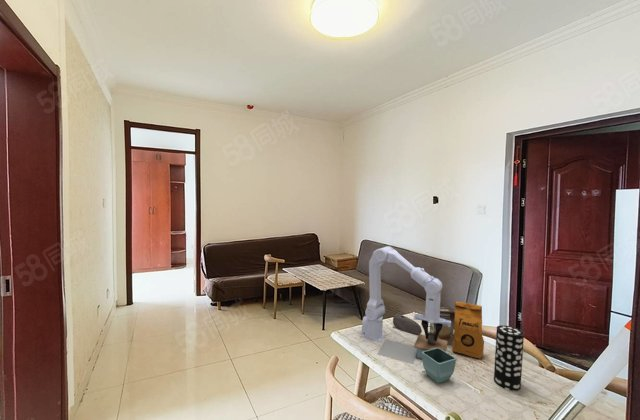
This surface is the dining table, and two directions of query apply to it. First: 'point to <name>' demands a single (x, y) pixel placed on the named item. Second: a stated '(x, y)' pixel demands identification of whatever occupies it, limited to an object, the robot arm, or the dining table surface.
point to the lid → (430, 342)
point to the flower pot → (438, 364)
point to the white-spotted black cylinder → (508, 357)
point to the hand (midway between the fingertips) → (431, 339)
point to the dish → (419, 353)
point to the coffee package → (468, 330)
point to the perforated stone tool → (406, 324)
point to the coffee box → (446, 331)
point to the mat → (398, 351)
